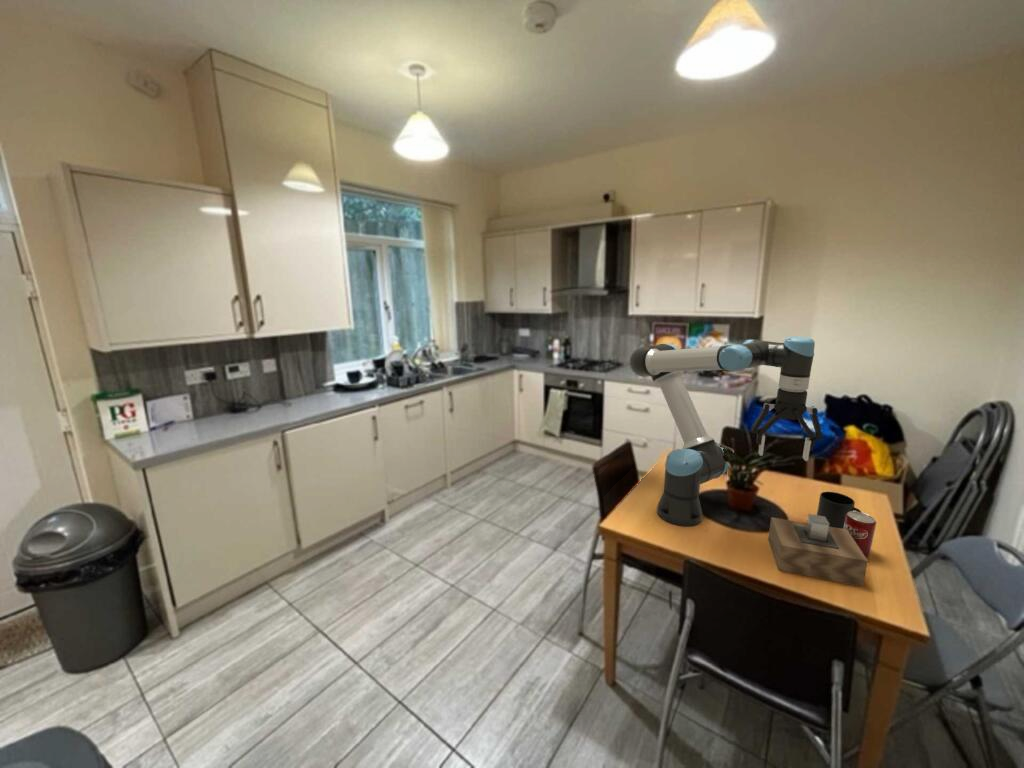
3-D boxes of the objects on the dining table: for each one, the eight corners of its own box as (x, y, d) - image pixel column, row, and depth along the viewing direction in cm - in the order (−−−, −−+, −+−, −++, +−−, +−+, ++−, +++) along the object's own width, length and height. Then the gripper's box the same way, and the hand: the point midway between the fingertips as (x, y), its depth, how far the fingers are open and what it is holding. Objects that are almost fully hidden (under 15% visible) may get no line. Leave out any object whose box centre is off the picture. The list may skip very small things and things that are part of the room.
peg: (808, 545, 124) (812, 521, 123) (804, 537, 128) (808, 514, 126) (824, 548, 123) (829, 523, 121) (820, 540, 127) (824, 516, 125)
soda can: (857, 561, 127) (864, 525, 124) (833, 547, 134) (839, 512, 131) (875, 556, 129) (883, 521, 126) (850, 543, 135) (857, 509, 133)
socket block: (778, 569, 123) (782, 544, 121) (768, 539, 138) (771, 516, 136) (862, 586, 116) (868, 560, 114) (842, 552, 131) (847, 528, 129)
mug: (859, 535, 139) (864, 510, 137) (815, 523, 147) (819, 499, 145) (859, 522, 147) (864, 498, 145) (817, 511, 154) (821, 488, 152)
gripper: (750, 388, 128) (741, 456, 134) (844, 395, 120) (831, 466, 125) (746, 383, 135) (738, 447, 140) (835, 389, 127) (823, 457, 132)
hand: (782, 456), depth 133 cm, fingers open, 11 cm apart
